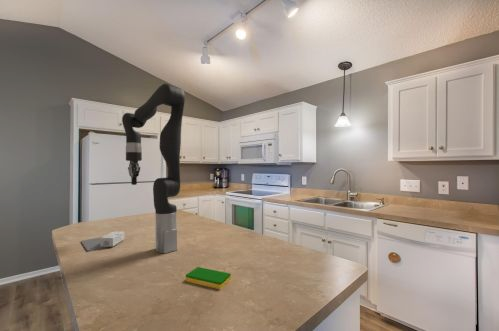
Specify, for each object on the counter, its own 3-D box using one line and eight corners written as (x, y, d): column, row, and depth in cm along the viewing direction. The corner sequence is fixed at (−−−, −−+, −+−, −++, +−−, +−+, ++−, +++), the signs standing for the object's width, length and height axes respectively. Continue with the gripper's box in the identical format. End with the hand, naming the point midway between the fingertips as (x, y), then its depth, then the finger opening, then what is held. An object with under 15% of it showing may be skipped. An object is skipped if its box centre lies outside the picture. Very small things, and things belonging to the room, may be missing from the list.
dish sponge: (197, 273, 85) (197, 266, 85) (231, 280, 79) (231, 273, 79) (184, 282, 78) (184, 275, 78) (220, 290, 72) (220, 283, 72)
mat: (117, 245, 114) (117, 244, 114) (87, 251, 106) (87, 250, 106) (107, 236, 128) (107, 235, 128) (81, 241, 119) (81, 240, 119)
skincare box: (99, 238, 109) (112, 230, 122) (99, 247, 110) (112, 239, 122) (113, 237, 110) (124, 230, 122) (113, 247, 110) (124, 238, 122)
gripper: (145, 151, 120) (145, 184, 120) (137, 152, 130) (137, 183, 130) (129, 150, 115) (130, 185, 115) (122, 152, 125) (122, 184, 125)
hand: (134, 184), depth 123 cm, fingers closed
